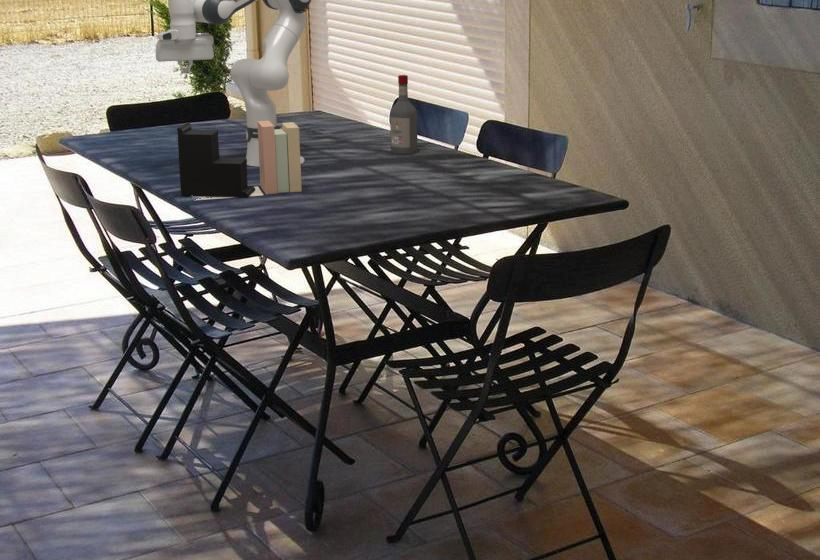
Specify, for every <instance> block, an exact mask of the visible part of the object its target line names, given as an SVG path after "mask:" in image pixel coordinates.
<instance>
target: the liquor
mask: <svg viewBox="0 0 820 560" xmlns="http://www.w3.org/2000/svg"><path fill="white" fill-rule="evenodd" d="M397 76H398V77H397V78H398V79H397V80H398V81H397V82H398V98H397V101H396V103H395V104H393V106H392V107H391V108H390V113H389V116H390V117H389V118H390V119H389V121H390V125H389V126H390V127H389V128H390V129H389V130H390V151H391V153H392V154H394V155H395V154H396V155H403V156H404V155H412V154H414V153H415V154H416V153H418V150H419V149H418V111H417V108H416V107H415V106H414V105H413V104H412V103H411V101H410V100H409V95H408V94H409V92H408V91H409V90H408V89H409V88H408V83H409V79H408V78H409V77H408V75H406V74H399V75H397Z"/></svg>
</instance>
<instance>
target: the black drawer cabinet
mask: <svg viewBox="0 0 820 560" xmlns="http://www.w3.org/2000/svg"><path fill="white" fill-rule="evenodd" d="M176 132H177V145H178V165H179V183H180V195H181V196H190V195H193V196H228V197H235V198H248V197H250V196H249V195H250V194H252V193H253V192H254V191H255V188H254V187H255V186H253V185H248V165H247V159H246V158H240V157H239V158H234V157H233V158H232V157H220V148H219V147H220V146H219V145H220V144H219V129H192V124H191V123H190V122H189V121H188V122H185V123H183V124H182V125H180V126H178V127H176Z"/></svg>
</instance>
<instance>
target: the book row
mask: <svg viewBox="0 0 820 560" xmlns="http://www.w3.org/2000/svg"><path fill="white" fill-rule="evenodd" d="M257 126H258V145H259V165H260V167H259V179H260V180H259V181H260V188H261V191H263V193H264V195H271V194H272V195H273V194H274V195H275V194H281V193H299V192H300V193H301V192H302V191H303V189H302V169H301V166H302V164H300V156H301V144H300V143H301V141H300V140H301V139H300V127H299V126H298V125H297V124H296V123H295V122H282V123H281V127H282V129H274V125H273V124H272V123H271V122H270V121H257Z"/></svg>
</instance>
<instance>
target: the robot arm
mask: <svg viewBox="0 0 820 560" xmlns="http://www.w3.org/2000/svg"><path fill="white" fill-rule="evenodd" d="M257 1H258V0H168V14H169V16H170V22H169V29H167V30H164V31H160V32H159V33H158V34H157V39H158V40H157V41H156V45H155V60H156V61H157V62H177V65H178V66H179V68H180V70H181V74H183V75H184V74H191V68H192V66H193V65H194V63H193V62H194V61H201V60H202V61H204V60H205V61H206V60H213V59H214V57H215V54H214V53H215V52H214V48H213V47H214V46H213V45H214V42H215V41H214V36H213V34H211V33H209V32H204V33H203V32H197V26H196V25H197V24H196V22H197V23H205V24H213V25H218V26H220V25H224V24H226V23H228V21H230V19H231V18H232V17H233V15H234V14H236V13H237V12H239V11H241V10H242V9H244V8H246V7H247V6H249V5H252V4H253V3H254V2H257ZM262 1H263V4H264V5H265V6H266V7H267V8H269V9H272V10H276V11H277V10H279V12H278V16H277V18H276V19H275V21H274V22H273V24H272V25H271V27H270V29H269V30H268V32H267V34H266V35H265V37H264V38H263V40H262V42H261V43H262V45H261V46H262V49H263V51H264V54H263V56H262V57H261V58H260V59H257V58H256V59H255V58H243V59H238V60H236V61H235V62H233V63H232V66H231V67H230V72H229V73H230V79H231V80H232V82H233V84H235V85H236V86H237V88H238V90H239V92H240V94H241V97H242V99H243V102H244V105H245V113H246V114H245V115H246V127H245V129H246V130H245V138H246V142H247V147H246V155H245V159H247V166H250V167H257V168H258V167H259V168H260V165H259V145H258V126H257V121H270V122H271V123H272V124H273V125H274V129H282V126H279V125H277V108H276V107H277V106H276V104H275V102H274V101H273V100H272V99H271V98H270V96H269V94H268V92H267V91H269V92H272V91H279V90H282V89H284V88H286V86H287V84H288V82H289V78H290V74H289V70H288V68H287V62H288V59H289V57H290V55H291V54H292V52H293V49H294V48H295V46H296V45H297V44H298V42H299V39H301V36H302V34H303V32H304V29H305V27H306V23H307V18H306V16H305V12H306V11H307V10H308V9H309V6H310V3H311V2H312V0H262ZM183 61H188V66H187V67H183V65H182V64H183ZM304 163H305V158H304V157H303V156H302V155H300V164H301V165H302V164H304Z"/></svg>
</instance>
